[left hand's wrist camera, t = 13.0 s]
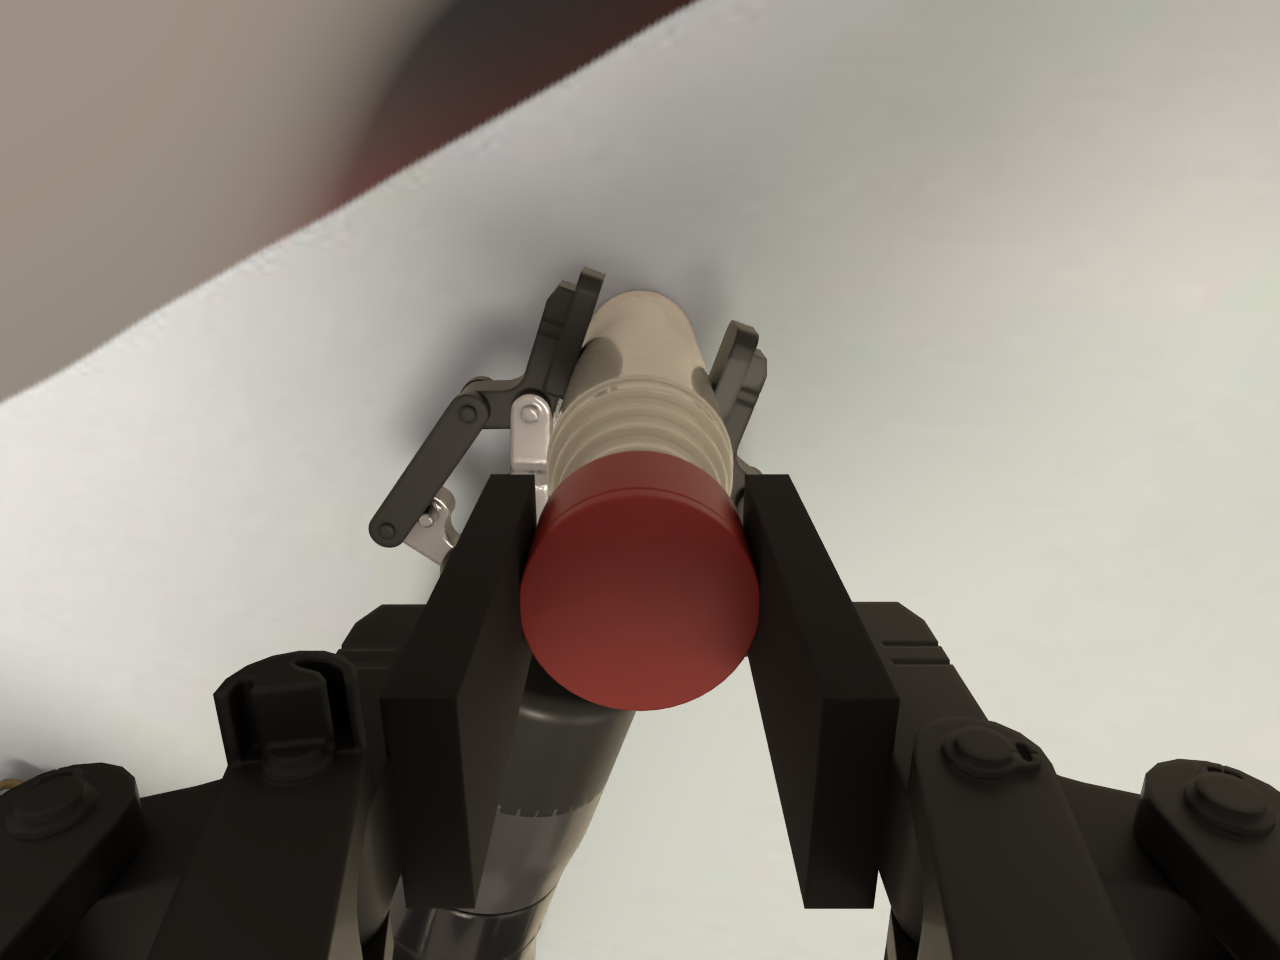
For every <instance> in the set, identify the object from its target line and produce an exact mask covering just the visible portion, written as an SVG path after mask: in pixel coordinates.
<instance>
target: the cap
mask: <svg viewBox="0 0 1280 960" xmlns="http://www.w3.org/2000/svg"><path fill="white" fill-rule="evenodd" d="M759 598H760V586H759V581H758V576H757V573H756V570H755V566H754V563H753V559H752V556H751V552H750V549H749V546H748V542H747V539H746V535H745V532H744V529H743V525H742V522H741V519H740V516H739V513H738V511H737V509H736V507H735V505H734V503H733V501H732V500H731V498H730V497H729V495H728V494H727V492H726V491H725V490H724V489H723V487H722V486H721V485H720V484H719V483H718V482H717V481H716V480H715V479H714V478H713V477H711V476H710V475H709V474H708V473H706V472H705V471H704V470H702V469H701V468H699V467H697V466H696V465H694V464H692V463H690V462H688V461H686V460H683V459H681V458H679V457H675V456H672V455H669V454H665V453H659V452H653V451H628V452H620V453H615V454H611V455H607V456H604V457H601V458H598V459H596V460H594V461H592V462H590V463H588V464H586V465H583V466H582V467H580V468H579V469H577V470H576V471H574V472H573V473H572V474H570V475H569V476H568V477H567V478H566V479H565V480H564V481H562V482H561V483H560V485H559V486H558V487H557V488H556V489H555V490H554V492H553V493H552V494H551V496H550V497H549V499H548V501H547V502H546V504H545V506H544V508H543V510H542V512H541V514H540V517H539V521H538V524H537V527H536V531H535V534H534V538H533V541H532V544H531V548H530V551H529V554H528V558H527V561H526V565H525V568H524V571H523V575H522V578H521V582H520V609H521V625H522V631H523V634H524V637H525V639H526V642H527V644H528V646H529V648H530V650H531V652H532V653H533V655H534V656H535V658H536V659H537V661H538V663H539V664H540V665H541V666H542V667H543V668H544V670H545V671H546V672H547V673H548V674H549V675H550V676H551V677H552V678H553V679H554V680H555V681H557V682H558V683H559V684H560V685H562V686H563V687H565V688H566V689H567V690H569V691H570V692H572V693H574V694H576V695H578V696H579V697H581V698H583V699H585V700H588V701H591V702H593V703H596V704H599V705H602V706H606V707H610V708H615V709H621V710H631V711H648V710H659V709H664V708H670V707H674V706H677V705H680V704H684V703H687V702H689V701H691V700H694V699H696V698H698V697H700V696H702V695H704V694H705V693H707V692H709V691H711V690H712V689H714V688H715V687H716V686H718V685H719V684H720V683H722V682H723V681H724V680H725V679H726V678H727V677H728V676H729V675H730V674H731V673H732V672H733V671H734V670H735V669H736V668H737V667H738V665H739V664H740V663H741V662H742V660H743V659H744V657H745V655H746V654H747V652H748V650H749V649H750V647H751V645H752V642H753V640H754V638H755V635H756V632H757V628H758V617H759Z"/></svg>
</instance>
